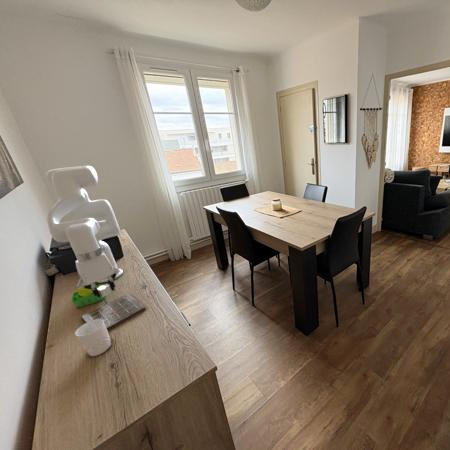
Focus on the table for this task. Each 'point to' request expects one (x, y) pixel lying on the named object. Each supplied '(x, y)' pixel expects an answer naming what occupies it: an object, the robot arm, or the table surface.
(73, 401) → the table surface
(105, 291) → the white round puck
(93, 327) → the white cup
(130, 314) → the board
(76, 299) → the fruit basket
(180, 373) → the table surface
